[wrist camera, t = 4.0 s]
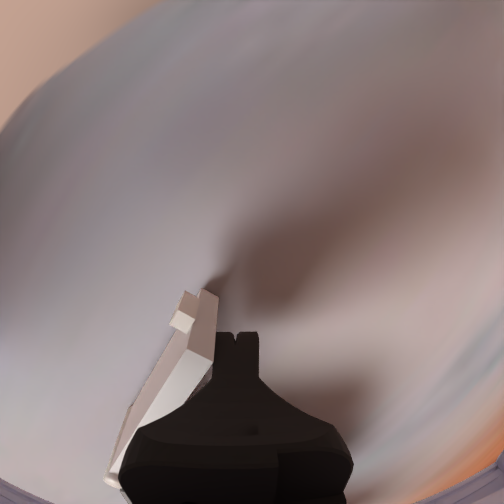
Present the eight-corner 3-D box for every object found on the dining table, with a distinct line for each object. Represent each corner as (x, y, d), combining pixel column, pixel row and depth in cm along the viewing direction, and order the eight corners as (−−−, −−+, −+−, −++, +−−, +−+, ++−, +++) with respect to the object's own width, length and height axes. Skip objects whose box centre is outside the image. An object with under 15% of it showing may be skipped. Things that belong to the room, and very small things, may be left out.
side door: (142, 420, 14) (122, 490, 9) (117, 408, 13) (91, 476, 9) (223, 292, 12) (220, 362, 7) (191, 274, 12) (167, 336, 7)
